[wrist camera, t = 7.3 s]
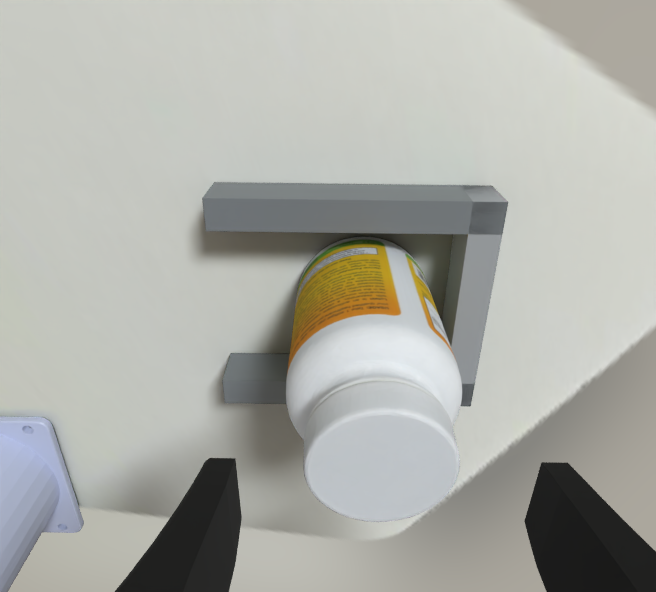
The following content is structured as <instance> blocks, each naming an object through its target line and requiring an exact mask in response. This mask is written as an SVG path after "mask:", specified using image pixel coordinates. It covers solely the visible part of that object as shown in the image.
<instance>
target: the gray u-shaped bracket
mask: <svg viewBox="0 0 656 592" xmlns="http://www.w3.org/2000/svg"><path fill="white" fill-rule="evenodd" d="M202 200H203V209H204V218H205V227H206V231H233V232H313V233H394V234H453V242H452V249H451V256H450V264H449V271H448V279H447V286H446V293H445V301H444V308H443V315H442V324H443V327H444V330H445V333H446V335H447V338H448V341H449V343H450V346H451V349H452V351H453V354H454V356H455V359H456V362H457V365H458V369H459V373H460V376H461V382H462V401H461V406H471V401H472V396H473V390H474V385H475V379H476V374H477V369H478V363H479V358H480V352H481V347H482V341H483V336H484V331H485V325H486V320H487V314H488V309H489V303H490V298H491V293H492V287H493V282H494V276H495V271H496V266H497V260H498V255H499V249H500V244H501V238H502V233H503V228H504V222H505V217H506V211H507V206H508V201H507V200H506V199H505V198H504V197H503V196H502V195H501V194H500V193H499V192H498V191H497V190H496V189H495V188H494V187H493V186H466V185H384V184H303V183H221V182H214V184H213V185H212V186H211V188H210V189H209V190H208V191H207V193H206V194H205V195H204V197H203V198H202ZM289 355H290V354H256V353H231V355H230V358H229V361H228V364H227V368H226V371H225V374H224V377H223V380H222V381H223V390H224V399H225V403H253V404H287V403H286V379H287V371H288V363H289Z"/></svg>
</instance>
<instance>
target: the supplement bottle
mask: <svg viewBox="0 0 656 592" xmlns="http://www.w3.org/2000/svg"><path fill="white" fill-rule="evenodd" d="M461 401H462V382H461V376H460V373H459V369H458V365H457V362H456V359H455V356H454V354H453V351H452V349H451V346H450V343H449V341H448V338H447V335H446V333H445V330H444V327H443V324H442V321H441V319H440V316H439V314H438V311H437V309H436V306H435V303H434V300H433V298H432V295H431V292H430V290H429V287H428V284H427V281H426V279H425V277H424V274H423V272H422V270H421V269H420V267H419V265H418V264H417V262H416V261H415V260H414V258H413V257H412V256H411V255H410V254H409V253H408V252H407V251H405V250H404V249H403V248H401V247H400V246H398V245H396V244H394V243H392V242H390V241H387V240H384V239H380V238H375V237H353V238H348V239H344V240H340V241H338V242H335V243H333V244H331V245H329V246H327V247H326V248H324V249H323V250H321V251H320V252H319V253H318V254H317V255H316V256H315V257H314V258H313V259H312V260H311V261H310V263H309V264H308V265H307V267H306V268H305V270H304V272H303V274H302V276H301V279H300V282H299V286H298V291H297V298H296V305H295V314H294V323H293V331H292V340H291V348H290V355H289V363H288V371H287V379H286V403H287V409H288V413H289V416H290V419H291V421H292V423H293V425H294V427H295V429H296V431H297V432H298V434H299V435H300V436H301V438H302V439H303V440H304V475H305V478H306V482H307V484H308V486H309V488H310V490H311V492H312V493H313V494H314V496H315V497H316V498H317V499H318V500H319V501H320V502H321V503H322V504H324V505H325V506H326V507H328V508H329V509H331V510H333V511H334V512H336V513H338V514H341V515H343V516H345V517H349V518H353V519H357V520H362V521H370V522H387V521H395V520H401V519H405V518H409V517H412V516H415V515H418V514H420V513H422V512H424V511H426V510H428V509H430V508H432V507H433V506H435V505H436V504H437V503H439V502H440V501H441V500H442V499H443V498H444V497H445V496H446V495H447V494H448V493H449V492H450V490H451V489H452V487H453V485H454V484H455V482H456V479H457V476H458V473H459V468H460V457H459V451H458V447H457V443H456V439H455V435H454V431H453V425H454V423H455V421H456V419H457V416H458V414H459V410H460V406H461Z"/></svg>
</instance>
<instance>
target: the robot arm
mask: <svg viewBox="0 0 656 592" xmlns="http://www.w3.org/2000/svg"><path fill="white" fill-rule="evenodd" d="M29 426H30V427H31V428H30V427H29ZM83 524H84V521H83V518H82V516H81V512H80V509H79V506H78V503H77V500H76V497H75V494H74V491H73V488H72V484H71V481H70V478H69V475H68V472H67V469H66V466H65V463H64V460H63V457H62V454H61V451H60V448H59V445H58V441H57V438H56V435H55V432H54V429H53V426H52V424H51V422H50V421H49V420H47V419H45V418H41V417H0V592H8V590H9V588H10V587H11V585H12V583H13V581H14V580H15V578H16V576H17V575H18V573H19V571H20V569H21V568H22V566H23V564H24V562H25V561H26V559H27V557H28V556H29V554H30V552H31V550H32V548H33V547H34V545H35V543H36V542H37V540H38V538H39V536H40V535H41V533H42V532H67V533H68V532H69V533H74V532H78V531H80V530H81V528H82V526H83ZM525 524H526V529H527V533H528V536H529V540H530V544H531V547H532V551H533V555H534V558H535V562H536V565H537V568H538V571H539V573H540V576H541V578H542V581H543V583H544V586H545V589H546V591H547V592H656V551H655V550H653V549H652V548H651V547H650V546H649V545H648V544H647V543H646V542H645V541H644V540H643V539H642V538H641V537H640V536H639V535H638V534H637V533H636V532H635V531H634V530H633V529H632V528H631V527H630V526H629V525H628V524H627V523H626V522H625V521H624V520H623V519H622V518H621V517H620V516H619V515H618V514H617V513H616V512H615V511H614V510H613V509H612V508H611V507H610V506H609V505H608V504H607V503H606V502H605V501H604V500H603V499H602V498H601V497H600V496H599V495H598V494H597V493H596V491H595V490H593V488H592V487H591V486H590V485H589V484H588V483H587V482H586V481H585V480H584V479H583V478H582V477H581V476H580V475H579V474H578V473H577V472H576V471H575V470H574V469H573V468H572V467H571V466H570V465H569V464H568V463H541V467H540V470H539V473H538V477H537V480H536V484H535V487H534V491H533V494H532V497H531V501H530V504H529V508H528V511H527V515H526V518H525ZM240 525H241V508H240V499H239V489H238V480H237V470H236V461H235V459H231V458H209V459H208V460H207V461H206V462H205V463H204V465H203V467H202V468H201V470H200V472H199V474H198V475H197V477H196V479H195V480H194V482H193V484H192V485H191V487H190V489H189V490H188V492H187V493H186V495H185V497H184V498H183V500H182V501H181V503H180V504H179V506H178V507H177V509H176V510H175V512H174V513H173V515H172V516H171V518H170V519H169V521H168V522H167V524H166V525H165V526H164V528H163V529H162V531H161V532H160V534H159V535H158V536H157V538H156V539H155V541H154V542H153V544H152V545H151V546H150V547H149V549H148V550H147V551H146V553H145V554H144V555H143V557H142V558H141V559H140V560H139V562H138V563H137V564H136V566H135V567H134V569H133V570H132V571H131V572H130V573H129V575H128V576H127V577H126V579H125V580H124V581H123V582H122V583H121V585H120V586H119V587H118V588H117V590H116V591H115V592H229V588H230V584H231V579H232V575H233V571H234V567H235V562H236V555H237V548H238V541H239V533H240Z"/></svg>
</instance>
